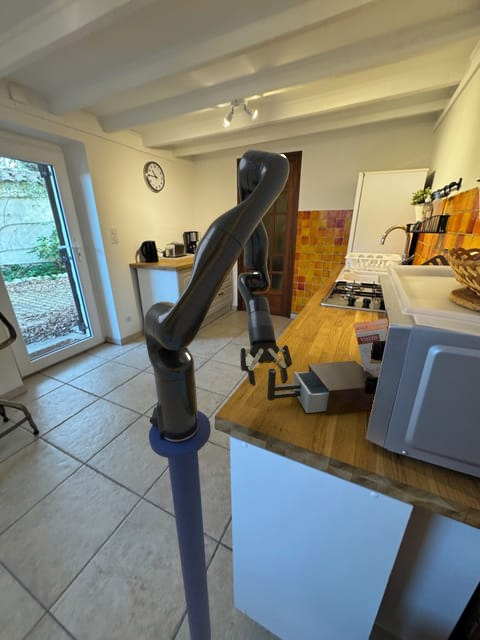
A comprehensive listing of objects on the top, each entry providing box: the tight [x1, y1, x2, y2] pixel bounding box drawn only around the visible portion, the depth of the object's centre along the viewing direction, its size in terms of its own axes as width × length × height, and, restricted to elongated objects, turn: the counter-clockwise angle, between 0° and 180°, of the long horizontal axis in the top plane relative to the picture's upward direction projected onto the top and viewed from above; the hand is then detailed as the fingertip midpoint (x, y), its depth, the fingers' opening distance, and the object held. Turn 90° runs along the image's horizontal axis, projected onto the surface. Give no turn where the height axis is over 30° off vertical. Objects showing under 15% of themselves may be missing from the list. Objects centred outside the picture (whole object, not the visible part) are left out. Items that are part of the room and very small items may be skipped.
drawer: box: [266, 368, 329, 414], centre depth 71 cm, size 23×11×10 cm, turn 99°
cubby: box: [307, 360, 374, 415], centre depth 73 cm, size 16×14×8 cm
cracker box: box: [353, 317, 388, 377], centre depth 72 cm, size 14×6×21 cm, turn 71°
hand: (269, 384), depth 69 cm, fingers open, 8 cm apart
